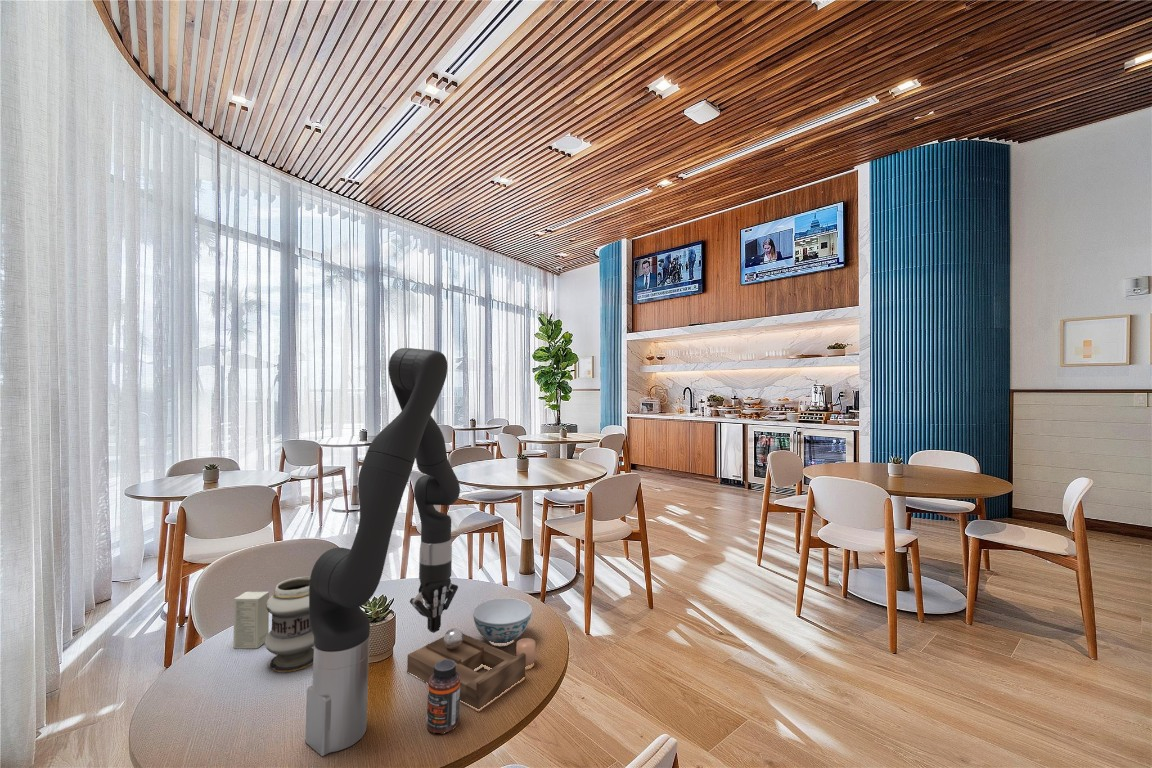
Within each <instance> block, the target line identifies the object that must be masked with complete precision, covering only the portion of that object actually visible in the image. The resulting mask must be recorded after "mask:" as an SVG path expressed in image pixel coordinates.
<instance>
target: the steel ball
mask: <svg viewBox="0 0 1152 768" xmlns="http://www.w3.org/2000/svg"><path fill="white" fill-rule="evenodd" d="M463 634H464V633H463V631H462V630H461V629H460V628H458V627H452V628H450V629H449V630H447V631H446V632H445V634H444V636H443V637H444V644H445V646H446V647H447V648H449V649H457V648H458V647H460V645H461V644H462V642H463Z"/></svg>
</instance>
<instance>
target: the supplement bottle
mask: <svg viewBox="0 0 1152 768" xmlns="http://www.w3.org/2000/svg"><path fill="white" fill-rule="evenodd" d="M427 685H428V686H427V705H426V727H427V730H428V732H430V731H431V732H430V733H432V732H433V733H432V734H435V733H444V732H448V731H450V730H452V729H453V728H454V727H455V726H456V725H457V726H458V724H459V722H458V721H459V720H460V703H461V702H460V675H459V673H458V672H457V671H456V663H455V662H454V661H453V660H450V659H444V660H440V661H438V662H437V663H436V664H435V665H434V673H433V674H432V675H431V677H430V678H429V682H428V684H427ZM457 726H456V727H457ZM456 727H455V728H456ZM455 728H454V729H455ZM454 729H453V730H454ZM453 730H452V731H453ZM450 732H451V731H450ZM448 733H449V732H448ZM444 734H445V733H444Z"/></svg>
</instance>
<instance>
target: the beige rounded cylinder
mask: <svg viewBox="0 0 1152 768" xmlns="http://www.w3.org/2000/svg"><path fill="white" fill-rule="evenodd" d="M515 649H516V650H515V651H516V653H515V654H516V655H515V656H516V657H517V656H519V655H520V654H522V653H525V654H526V666H528V665H531V664H533V663H534V662H535V663H536V641H535V640H534V639H533V638H528V637H526V638H525V637H524V638H520V639H518V640H517V641H516V648H515Z"/></svg>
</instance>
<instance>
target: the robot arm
mask: <svg viewBox="0 0 1152 768" xmlns="http://www.w3.org/2000/svg"><path fill="white" fill-rule="evenodd" d="M387 370H388V375H389V381H390V384H391V386H392V389H393V392H394V395H395V397H396V399H397V402H398V405H399V407H400V410H401V411H400V413H398V415H397V416H396V417H394V419H393V420H392V421H390V423H388V424H387V425H386V426H385V427H384V428H382V430H381V431H380V432H379V433H378V434H377V435H376V436H375V437H374V439H373V440H372V441H371V442H370V444H369V447H367V448H368V449H367V450H366V453H365V456H364V459H363V461H362V465H361V467H360V471H359V474H358V479H357V492H358V506H359V523H358V528H357V531H356V534H355V537H354V540H353V543H352V546H351V548H347V547H334V548H333V547H332V548H330V549H327V550H326V551H325V552H323V554H321V555H320V557H319V558H318V559H317V560H316V561H315V563H314V566H312V570H311V573H310V576H309V577H310V584H309V620H310V627H311V630H312V633H313V635H314V646H313V649H314V655H313V663H312V683H311V684H312V685H310V686H308V687H307V688H306V705H305V706H306V709H305V732H304V733H305V734H304V737H305V738H304V742H305V744H307V745H308V746H309V747H311V749H313V751H315V752H316V753H317V754H318V755H320V756H321V757H324V756H327V754H330V753H334V752H339V751H342V750H345V749H347V748H350V747H351V746H353V745H354V744H356V743H357V742H359V740H361V739H362V738H363V737H364V735H365V733H366V731H367V719H368V694H369V693H368V691H369V689H368V688H369V664H370V662H369V660H370V634H371V633H370V632H371V631H370V630H371V622H370V619H369V617H368V616H367V614H365V612H364V611H363V610H362V608H361V607H362V606H364V605H365V604H367V603H368V601H369V600H370V599H371V598H372V597H373V595H374V594H375V592H376V590H377V589H378V586H379V585H380V582H381V578H382V574H383V571H384V567H385V563H386V558H387V554H388V550H389V545H390V541H391V536H392V533H393V529H394V525H395V522H396V519H397V515H398V512H399V509H400V505H401V502H402V499H403V496H404V493H405V490H406V487H407V485H408V482H409V479H410V476H411V473H412V471H413V466H414V464H415V462H416V467H417V470H418V471H419V472H420V473H422V474H423V475H421V476H420V477H418V479H416V482H415V484H414V487H413V488H414V489H413V494H414V495H413V496H414V501H415V504H416V506H417V510H418V515H419V520H420V546H419V560H418V561H419V563H418V565H419V566H418V568H419V569H418V579H419V584H420V585H419V588H418V593H417V595H416V596H415V597H411V598H410V599H409V603H410V605H412V607H413V608H414V609H415V610H416V611H417V613H418V614H419V615H421V616H423V617H425V618H426V619H427V627H426V628H427V630H428V631H429V632H431V633H433V634H435V633H437V632H438V631H440V627H441V625H442V615H443V612H444V611H446V610H448V609H449V607H450V605H451V603H452V601H453V599H454V597H455V595H456V592H458V589H459V586H458V585H457V584H455V583H452V580H451V576H452V565H453V564H452V563H453V562H452V560H453V554H452V553H453V545H452V517H451V516H450V515H449V514H446V513H444V512H440V511H439V510H437V509H436V508H435V506H451V505H453V504H455V503H456V502H458V499H459V497H460V494H461V487H460V482H459V479H458V478H457V475H456V473H455V471H454V469H453V467H452V465H451V464H450V463H451V462H450V461H449V458H448V454H447V447H446V441H445V438H444V437H445V436H444V434H443V432H442V430H441V427H439V425H438V423H437V421H435V418H433V416H432V413H433V410H434V408H435V405H436V404H437V401H438V400H439V397H440V395H441V393H442V390H443V388H444V385H445V382H446V378H447V375H448V361H447V358H446V356H445V354H444V353H442V352H441V351H438V350H433V349H425V348H411V347H402V348H398V349H396V350H395V351H393V353H392V354H391V356H390V359H389V361H388V369H387Z"/></svg>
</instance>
